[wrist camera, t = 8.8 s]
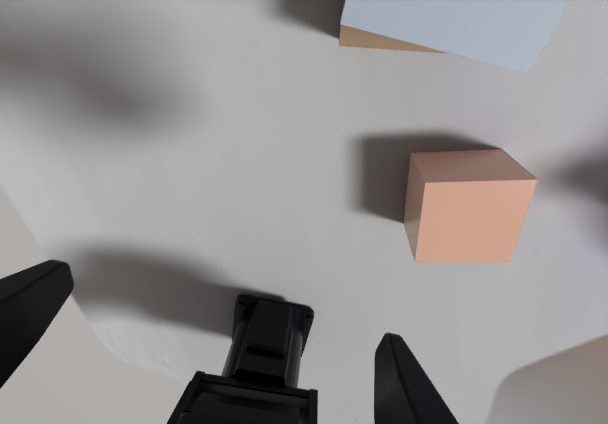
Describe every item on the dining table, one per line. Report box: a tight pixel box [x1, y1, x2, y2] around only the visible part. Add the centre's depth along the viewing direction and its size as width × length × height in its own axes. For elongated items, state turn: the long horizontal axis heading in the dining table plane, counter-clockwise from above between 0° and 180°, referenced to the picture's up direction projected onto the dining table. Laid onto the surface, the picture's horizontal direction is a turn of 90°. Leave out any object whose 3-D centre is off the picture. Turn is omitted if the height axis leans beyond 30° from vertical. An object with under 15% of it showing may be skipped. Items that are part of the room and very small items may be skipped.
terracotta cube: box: [404, 149, 537, 262], centre depth 18 cm, size 5×5×4 cm
